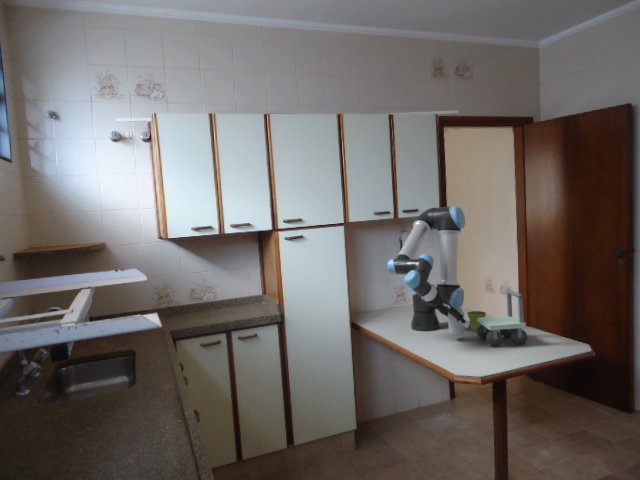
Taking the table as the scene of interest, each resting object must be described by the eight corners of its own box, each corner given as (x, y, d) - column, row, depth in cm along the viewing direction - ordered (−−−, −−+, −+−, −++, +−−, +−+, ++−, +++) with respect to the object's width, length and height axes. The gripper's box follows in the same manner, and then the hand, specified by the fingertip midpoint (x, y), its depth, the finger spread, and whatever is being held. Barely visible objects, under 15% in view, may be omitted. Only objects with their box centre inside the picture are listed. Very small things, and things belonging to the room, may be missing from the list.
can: (466, 331, 222) (464, 307, 221) (464, 336, 215) (462, 311, 214) (450, 331, 225) (448, 307, 224) (447, 335, 218) (446, 310, 217)
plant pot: (484, 326, 240) (483, 310, 239) (489, 331, 230) (488, 314, 230) (466, 327, 241) (465, 311, 240) (470, 332, 231) (469, 315, 231)
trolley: (476, 338, 220) (473, 291, 219) (513, 335, 221) (511, 288, 219) (488, 348, 204) (486, 297, 203) (528, 345, 205) (526, 294, 203)
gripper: (415, 298, 224) (446, 325, 230) (439, 306, 204) (471, 335, 211) (424, 286, 225) (454, 313, 231) (448, 292, 206) (480, 322, 212)
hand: (462, 324), depth 221 cm, fingers closed on can, 7 cm apart
